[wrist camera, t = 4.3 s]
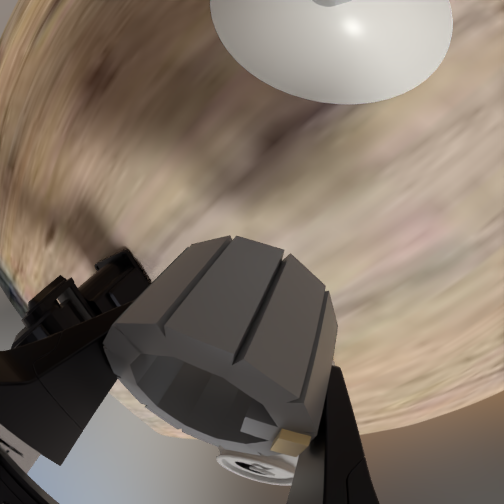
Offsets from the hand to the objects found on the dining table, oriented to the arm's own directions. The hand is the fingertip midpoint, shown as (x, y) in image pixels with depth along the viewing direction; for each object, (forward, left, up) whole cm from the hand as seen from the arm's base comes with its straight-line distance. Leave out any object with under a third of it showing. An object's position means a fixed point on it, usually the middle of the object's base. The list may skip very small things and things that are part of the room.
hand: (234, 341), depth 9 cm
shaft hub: (+8, +12, -11) cm, 18 cm away
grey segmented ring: (0, 0, -1) cm, 1 cm away
